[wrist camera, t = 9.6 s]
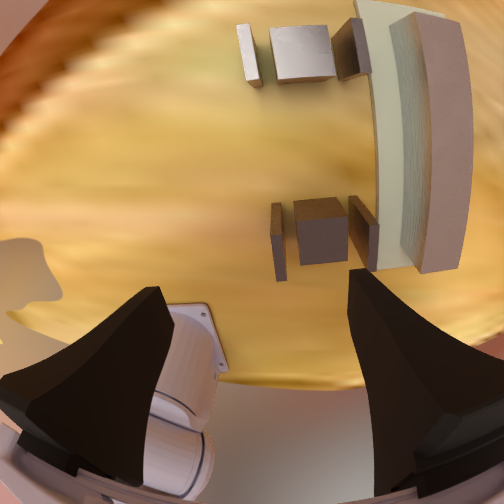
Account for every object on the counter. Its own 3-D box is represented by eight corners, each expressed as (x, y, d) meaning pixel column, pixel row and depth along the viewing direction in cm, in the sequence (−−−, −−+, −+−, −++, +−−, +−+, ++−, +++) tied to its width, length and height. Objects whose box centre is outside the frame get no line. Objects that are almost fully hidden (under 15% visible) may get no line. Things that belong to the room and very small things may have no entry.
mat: (444, 257, 20) (447, 260, 20) (373, 266, 21) (375, 270, 21) (440, 15, 11) (444, 14, 10) (353, 1, 12) (355, -1, 11)
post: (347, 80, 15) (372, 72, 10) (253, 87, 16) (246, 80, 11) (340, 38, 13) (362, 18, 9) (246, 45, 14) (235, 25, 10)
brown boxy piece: (356, 234, 20) (376, 271, 16) (276, 241, 21) (276, 281, 16) (356, 195, 19) (379, 224, 14) (271, 203, 19) (270, 235, 15)
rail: (433, 241, 19) (457, 268, 15) (399, 244, 19) (420, 274, 16) (428, 32, 11) (459, 22, 8) (388, 25, 12) (414, 11, 8)
